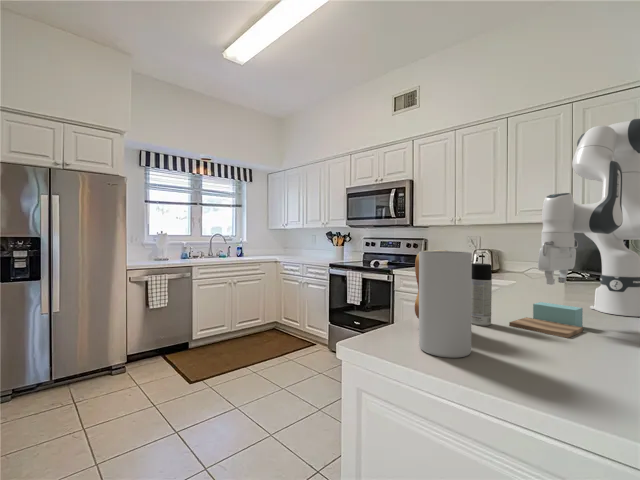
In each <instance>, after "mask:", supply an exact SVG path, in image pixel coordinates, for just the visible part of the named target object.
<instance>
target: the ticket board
mask: <svg viewBox="0 0 640 480" xmlns="http://www.w3.org/2000/svg"><path fill="white" fill-rule="evenodd" d="M508 324H509V327H513V328H516V329H517V328H518V329H523V330H528V331H533V332H536V333H541V334H547V335H551V336H556V337H561V338H566V339H569V338H571V337H573V336H575V335H578V334H581V333H583V331H584V327H583V326H582V327H578V326H573V325H567V324H561V323H556V322H551V321H545V320H540V319H533V317H527V316H526V317H522V318H519V319H515V320H513V321H509V323H508Z"/></svg>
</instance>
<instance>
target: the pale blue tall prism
mask: <svg viewBox="0 0 640 480" xmlns="http://www.w3.org/2000/svg"><path fill="white" fill-rule="evenodd" d="M532 305H533V307H532V309H533V310H532V313H533V314H532V316H533V317H532V318H533V319H540V320H545V321H551V322H556V323H561V324H567V325H573V326H578V327H583V313H584V312H583V307H579V306H572V305H571V306H570V305H564V304H557V303H551V302H543V301H540V302H536V303H533V304H532Z"/></svg>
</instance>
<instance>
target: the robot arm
mask: <svg viewBox="0 0 640 480" xmlns="http://www.w3.org/2000/svg"><path fill="white" fill-rule="evenodd" d="M571 164H572V165H571V167H572V170H573V171H574V173H575V174H576V175H578V176H580V177H581V178H583V179H586V180H590V181H597V182H601V183H602V189H601V191H602V193H601V199H600V200H599V201H597V202H593V203H583V204H582V203H581V204H578V203H576V202H575V201H574V198H573V194H572V193H570V192H562V193H556V194H555V193H553V194H549V195H547V196H545V197H544V200H543V201H542V202H543V204H542V209H541V210H542V211H541V223H542V230H541V235H540V236H541V237H540V238H541V240H540V241H541V242H540V246H541V247H540V248H539V252H538V260H537V268H538V270H539V271H544V275H545V279H546V281H545V282H546V285H548V286H549V285H550V286H552V285H555V281H556V279H555V278H554V274H555V271H558V272H559V277H558V280H557V282H558V283H560V284H561V283H562V284H565V283H566V282H567V277H568V274H569V270H573V269H574V268H575V266H576V258H577V257H576V256H577V250H576V249H577V248H578V247H579V242H578V240H577V239H576V238H575V233H576V234H577V233H579V234H584V235H585V237H587V238H589V239H590V240H591V241H592V242H594V244H595V246H596V247H597V249H598V251H599V253H600V259H601V275H600V276H599V280H600V282H599V283H600V286H598V287H596V288H595V293H594V305H593V304H592V305H590V306H589V309H591V310H595V311H597V312H601V313H604V314H610V315H615V316H616V315H617V316H626V317H637V318H638V317H640V255H639V254H638V253H637V252H636V251H634V250H631V249H630V248H628V247H627V246H626V245H625V242H624V241H625V240H629V241H631V240H632V241H633V240H634V241H635V240H637V241H638V240H640V118H634V119H632V120H625V121H621V122H615V123H611V124H609V125H596V126H593V127H591V128H589V129H588V130H587V131H585V132H584V133H582V134H581V135H580V136H579V138H578V140H577V142H576V149H575V152H574V155H573V158H572V163H571Z"/></svg>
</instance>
